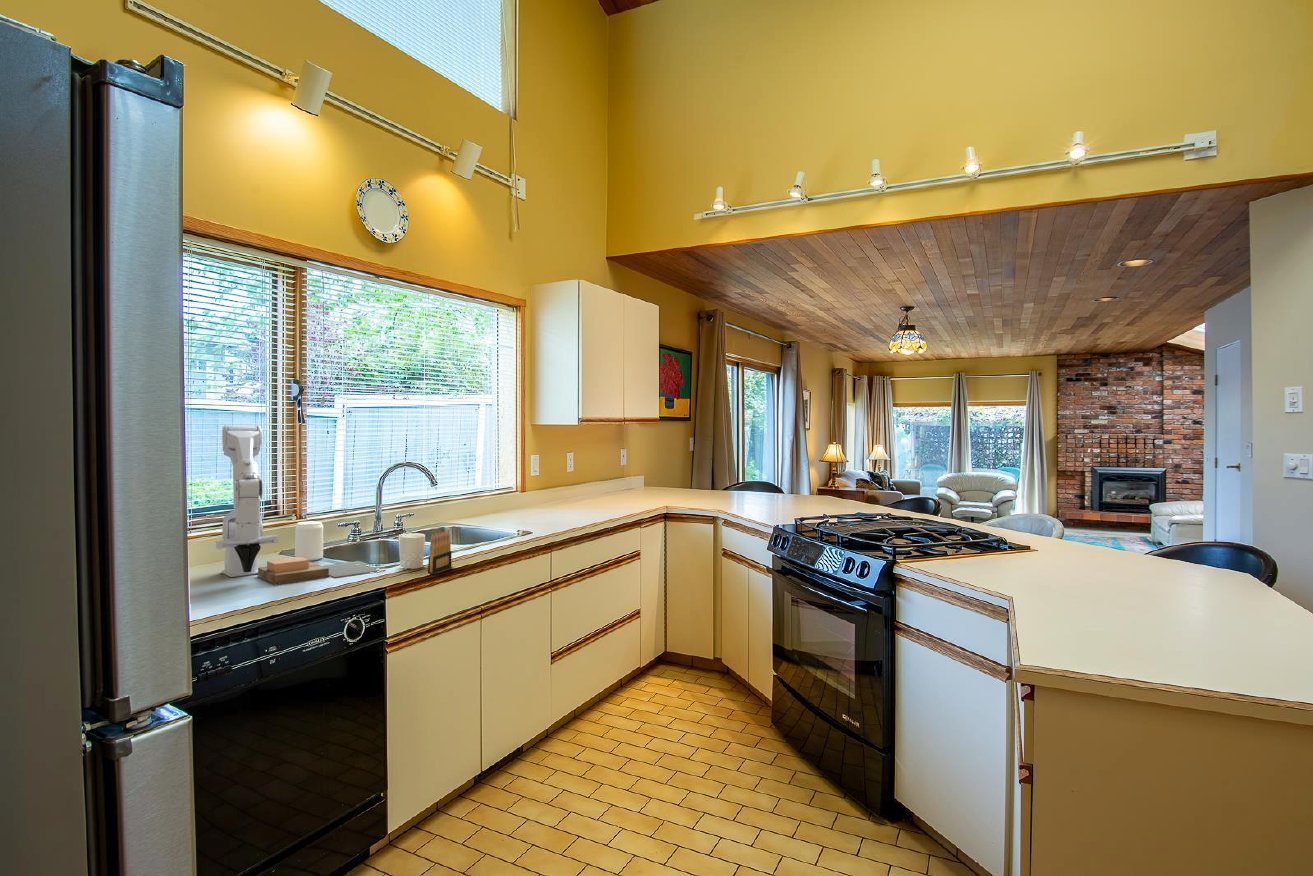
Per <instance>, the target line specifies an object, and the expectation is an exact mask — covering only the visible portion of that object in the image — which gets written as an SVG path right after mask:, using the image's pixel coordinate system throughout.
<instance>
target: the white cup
mask: <svg viewBox="0 0 1313 876" xmlns="http://www.w3.org/2000/svg"><path fill="white" fill-rule="evenodd" d="M425 545H426V534H424V533H415V532H414V533H411V532H410V533H403V534H399V535H398V553H399V567H400V566H401V567H403V568H411V569H410V570H415V569H420V568H423V566H424V558H425V551H426V550H425ZM403 568H402V569H403Z"/></svg>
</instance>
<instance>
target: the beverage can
mask: <svg viewBox="0 0 1313 876" xmlns="http://www.w3.org/2000/svg"><path fill="white" fill-rule="evenodd" d="M294 530H295V534H294V535H295V538H294V539H295V540H294V541H295V542H294V543H295V544H294V547H295V548H294V558H296V557H302V558H305V559H308V560H309V561H310V562H314V561H318V560H320V559H322V558H323V557H324V525H323V522H322V521H317V520H312V521H311V520H309V521H299V522H297V523H296V526H295V529H294Z"/></svg>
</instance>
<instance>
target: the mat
mask: <svg viewBox="0 0 1313 876" xmlns="http://www.w3.org/2000/svg"><path fill="white" fill-rule="evenodd" d="M355 564H359V565H355ZM366 565H369V567H367V566H366ZM370 565H371V564H370V563H367V562H364V561H360V560H357V561H348V562H339V563H333V564H332V563H331V564H327V565H323V566H324V567H327V568H329V577H330V578H333V579H340V578H346V577H352V576H359V575H365V574H366V573H367V574H371V573H370V572H374V573H378V572H377V571H379V570H376V569H374V568H380V566H376V567H370Z"/></svg>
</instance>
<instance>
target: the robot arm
mask: <svg viewBox="0 0 1313 876" xmlns="http://www.w3.org/2000/svg"><path fill="white" fill-rule="evenodd" d="M221 430H222V432H221V436H222V437H221V440H222V442H221V443H222V452H223V455H224V456H226V457H229V458H230V461H231V465H232V478H233V479H232V483H233V484H232V485H233V486H232V487H233V488H232V489H233V492H232V493H233V510H231V511H230V512H228V513H227V514H225V515H224V517H223V519H222V529H221V534H222V535H221V536H222V539H221V540H215V548H216V549H218V550H219V549H225V551H224V569H222V570H221V571H220V573H222V574H224V575H225V576H227V577H230V578H233V577H234V578H235V577H243V576H249V575H256V574H257V575H258V568H257V560H258V559H257V557H258V554H259V552H260V550H261V547H262V546H261V545H266V544H277V543H278V541H279V540H278V539H279V538H278V535H275V534H274V535H272V534H271V535H264V523H263V517H262V515H261V500H262V498H263V493H264V483H263V479H262V477H261V476H260V473H259V472H260V471H259V465H258V463H257V461H255V460H253V458H254V457H256V456H259V454H260V451H261V446H262V441H263V440H262V439H263V429H262V427H261V426H260V425H257V426H256V425H228V424H224V426H223V427H222V429H221ZM259 498H260V499H259Z"/></svg>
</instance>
